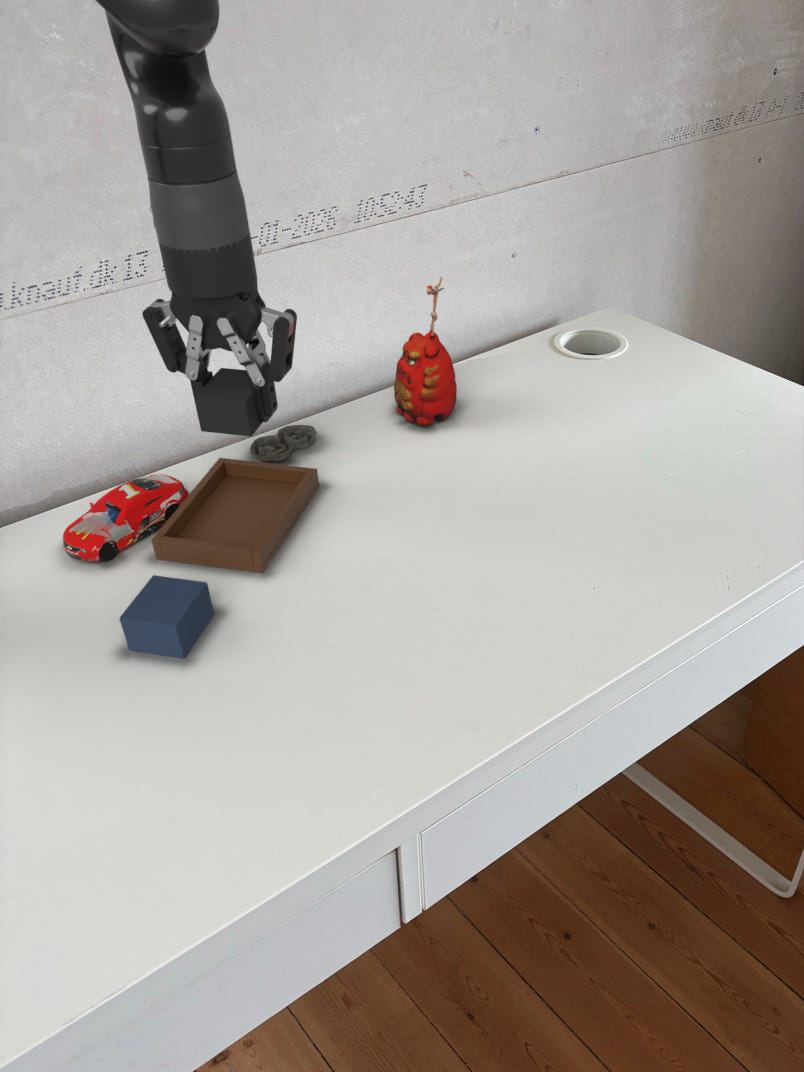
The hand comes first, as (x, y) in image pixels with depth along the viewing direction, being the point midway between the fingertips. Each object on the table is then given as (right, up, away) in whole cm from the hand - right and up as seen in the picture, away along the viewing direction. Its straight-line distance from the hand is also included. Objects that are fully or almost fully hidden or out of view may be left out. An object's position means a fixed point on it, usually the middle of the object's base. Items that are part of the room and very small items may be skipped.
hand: (238, 414), depth 95 cm
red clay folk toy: (+17, +4, +21) cm, 27 cm away
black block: (0, 0, 0) cm, 0 cm away
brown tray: (-1, -10, +4) cm, 10 cm away
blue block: (-3, -20, -9) cm, 22 cm away
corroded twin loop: (+2, -1, +15) cm, 15 cm away
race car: (-11, -11, +3) cm, 16 cm away
